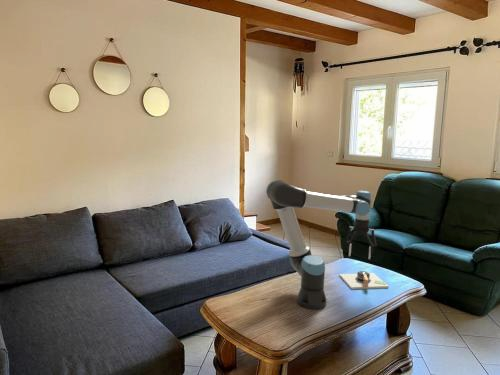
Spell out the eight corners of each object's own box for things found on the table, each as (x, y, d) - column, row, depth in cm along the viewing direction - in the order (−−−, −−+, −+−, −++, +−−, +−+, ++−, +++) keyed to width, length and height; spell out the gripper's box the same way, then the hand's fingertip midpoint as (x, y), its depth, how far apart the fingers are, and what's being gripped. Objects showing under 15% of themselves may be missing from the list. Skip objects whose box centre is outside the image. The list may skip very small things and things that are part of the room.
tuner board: (351, 289, 204) (351, 286, 204) (339, 275, 223) (339, 273, 223) (389, 287, 207) (389, 285, 207) (374, 274, 226) (374, 272, 225)
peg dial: (356, 276, 219) (356, 269, 218) (368, 277, 218) (368, 270, 217) (360, 287, 203) (360, 279, 203) (373, 288, 202) (373, 280, 202)
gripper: (340, 217, 203) (338, 255, 207) (383, 222, 194) (380, 262, 198) (342, 215, 210) (340, 251, 213) (384, 219, 201) (381, 257, 205)
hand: (359, 256), depth 206 cm, fingers open, 10 cm apart
